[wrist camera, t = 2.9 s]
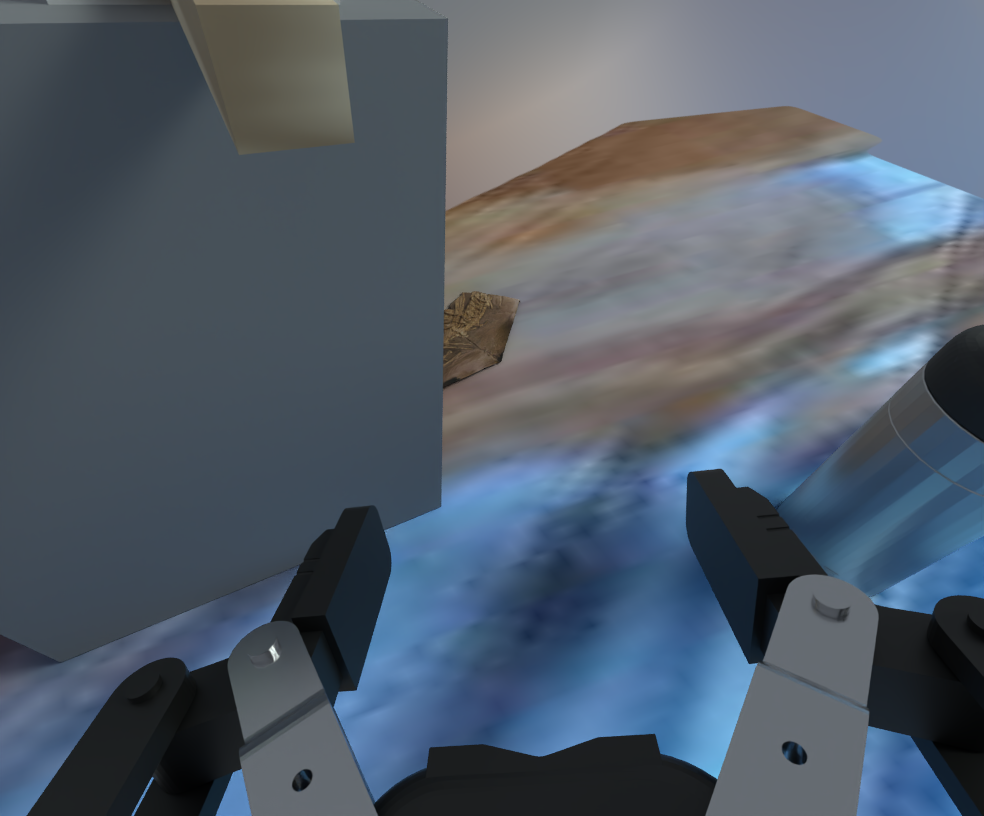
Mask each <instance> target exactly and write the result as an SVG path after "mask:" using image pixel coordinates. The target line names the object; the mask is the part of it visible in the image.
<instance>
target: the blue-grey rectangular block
mask: <svg viewBox="0 0 984 816" xmlns="http://www.w3.org/2000/svg"><path fill="white" fill-rule="evenodd" d="M339 14H340V22H341V31H342V39H343V48H344V56H345V65H346V73H347V82H348V90H349V99H350V107H351V115H352V124H353V132H354V141H355V143H348V144H338V145H329V146H319V147H310V148H300V149H291V150H281V151H272V152H262V153H253V154H243V155H239V154H238V151H237V149H236V147H235V145H234V142H233V140H232V138H231V136H230V134H229V131H228V129H227V127H226V125H225V122H224V120H223V118H222V116H221V113H220V111H219V109H218V107H217V104H216V102H215V100H214V98H213V96H212V93H211V91H210V89H209V87H208V84H207V82H206V80H205V78H204V75H203V73H202V71H201V69H200V67H199V64H198V62H197V60H196V58H195V55H194V53H193V51H192V49H191V46H190V44H189V42H188V40H187V37H186V35H185V33H184V31H183V29H182V26H181V24H180V22H179V20H178V17H177V15H176V13H175V11H174V8H173V6H172V5H48V3H47V1H46V0H0V635H2V636H5V637H7V638H9V639H11V640H13V641H15V642H18V643H20V644H22V645H24V646H26V647H28V648H31V649H33V650H35V651H37V652H39V653H41V654H43V655H46V656H48V657H50V658H52V659H54V660H56V661H59V662H64V661H66V660H68V659H71V658H73V657H76V656H78V655H81V654H83V653H86V652H88V651H90V650H93V649H95V648H98V647H100V646H103V645H105V644H107V643H110V642H112V641H115V640H117V639H120V638H122V637H125V636H127V635H129V634H132V633H134V632H137V631H139V630H142V629H144V628H146V627H149V626H151V625H154V624H156V623H159V622H161V621H164V620H166V619H168V618H171V617H173V616H176V615H178V614H181V613H183V612H186V611H188V610H190V609H193V608H195V607H198V606H200V605H203V604H205V603H207V602H210V601H212V600H215V599H217V598H220V597H222V596H225V595H227V594H229V593H232V592H234V591H237V590H239V589H242V588H244V587H246V586H249V585H251V584H254V583H256V582H259V581H261V580H264V579H266V578H268V577H271V576H273V575H276V574H278V573H281V572H283V571H285V570H288V569H290V568H293V567H295V566H298V565H300V564H301V563H303V562H304V560H303V559H304V557H305V555H306V554H307V552H308V550H309V548H310V546H311V544H312V543H313V542H314V541H315V540H316V539H317V538H318V537H319V536H320V535H321V534H322V533H323V532H324V531H325V530H326V529H334V528H335V526H336V524H337V522H338V520H339V518H340V516H341V514H342V512H343V510H344V509H345V508H352V507H361V506H370V505H374V506H375V507H376V508H377V510H378V513H379V516H380V519H381V522H382V526H383V529H384V530H385V529H388V528H390V527H393V526H395V525H398V524H400V523H403V522H405V521H407V520H410V519H412V518H415V517H417V516H420V515H422V514H424V513H427V512H429V511H432V510H434V509H437V508H439V507H441V479H442V408H443V336H444V264H445V189H446V187H445V185H446V119H447V118H446V117H447V48H448V41H447V40H448V18H446V17H444V16H442V15H441V14H439V13H438V12H436V11H434V10H432V9H431V8H429V7H427V6H426V5H424V4H422V3H421V2H419V1H417V0H340V5H339Z"/></svg>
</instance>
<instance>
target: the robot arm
mask: <svg viewBox="0 0 984 816" xmlns="http://www.w3.org/2000/svg"><path fill="white" fill-rule="evenodd" d="M686 528H687V534H688V538H689V541H690V544H691V547H692V549H693V551H694V553H695V555H696V557H697V559H698V561H699V563H700V565H701V567H702V569H703V571H704V573H705V576H706V578H707V580H708V582H709V584H710V586H711V588H712V590H713V592H714V594H715V596H716V598H717V600H718V602H719V604H720V606H721V608H722V610H723V612H724V614H725V616H726V618H727V620H728V622H729V624H730V626H731V628H732V631H733V633H734V635H735V637H736V639H737V641H738V643H739V645H740V647H741V649H742V651H743V653H744V655H745V657H746V659H747V661H748V663H749V664H753V663H758V664H757V666H756V669H755V672H754V674H753V677H752V680H751V683H750V686H749V689H748V692H747V695H746V698H745V701H744V704H743V707H742V710H741V713H740V716H739V718H738V721H737V724H736V727H735V730H734V733H733V736H732V739H731V742H730V745H729V748H728V751H727V754H726V757H725V760H724V762H723V765H722V768H721V771H720V774H719V777H718V780H717V779H716V778H715V777H713V776H711V775H710V774H708V773H707V772H705V771H703V770H702V769H700V768H698V767H696V766H694V765H692V764H690V763H687V762H685V761H682V760H680V759H677V758H674V757H671V756H667V755H663V754H660V751H659V747H658V744H657V740H656V736H655V734H646V735H630V736H613V737H598V738H595V739H592V740H589V741H586V742H583V743H581V744H578V745H575V746H572V747H569V748H566V749H564V750H561V751H558V752H555V753H552V754H549V755H547V756H541V757H538V756H532V755H528V754H523V753H519V752H515V751H510V750H506V749H501V748H497V747H493V746H488V745H484V744H480V745H464V746H447V747H431V748H430V749H429V756H428V763H427V768H425V769H422V770H420V771H418V772H416V773H414V774H412V775H410V776H408V777H406V778H405V779H403V780H402V781H400V782H399V783H397V784H396V785H394V786H393V787H392V788H391V789H389V790H388V791H387V792H386V793H385V794H383V795H382V796H381V797H380V798H379V799H378V800H377V801H376V802H375V800H374V798H373V796H372V794H371V792H370V789H369V787H368V785H367V782H366V780H365V778H364V776H363V773H362V771H361V769H360V766H359V764H358V762H357V760H356V757H355V755H354V753H353V750H352V748H351V746H350V744H349V741H348V739H347V737H346V734H345V732H344V730H343V728H342V725H341V723H340V721H339V718H338V716H337V714H336V711H335V709H334V703H335V700H336V697H337V694H338V692H341V691H354V690H357V687H358V683H359V680H360V676H361V673H362V669H363V666H364V663H365V659H366V656H367V652H368V649H369V645H370V642H371V639H372V635H373V632H374V628H375V625H376V621H377V618H378V615H379V611H380V608H381V604H382V601H383V597H384V594H385V591H386V587H387V584H388V580H389V577H390V573H391V553H390V548H389V545H388V542H387V539H386V535H385V532H384V529H383V526H382V522H381V519H380V516H379V513H378V510H377V508H376V507H375V506H374V505H370V506H361V507H352V508H345V509H344V510H343V512H342V514H341V516H340V518H339V520H338V522H337V524H336V526H335V528H334V529H326V530H325V531H324V532H323V533H322V534H321V535H320V536H319V537H318V538H317V539H316V540H315V541H314V542H313V543H312V544H311V546H310V548H309V550H308V552H307V554H306V555H305V557H304V559H303V560H304V562H303V563H301V565H300V567H299V569H298V571H297V576H294V578H293V580H292V582H291V584H290V586H289V588H288V590H287V591H286V593H285V595H284V597H283V599H282V601H281V603H280V605H279V607H278V609H277V610H276V612H275V614H274V616H273V618H272V620H271V622H270V623H267V624H264V625H262V626H260V627H258V628H256V629H255V630H253V631H251V632H250V633H249V634H247V635H246V636H245V637H244V638H243V639H242V640H241V641H240V642H239V643H238V644H237V645H236V647H235V648H234V649H233V651H232V653H231V655H230V657H229V658H227V659H225V660H222V661H219V662H216V663H214V664H211V665H208V666H205V667H202V668H200V669H197V670H194V671H191V672H189V670H188V669H187V667H186V666H185V664H184V662H183V661H181V660H180V659H177V658H164V659H160V660H157V661H154V662H152V663H149V664H147V665H145V666H144V667H142V668H140V669H139V670H137V671H136V672H134V673H133V674H132V675H130V676H129V677H128V678H127V679H125V680H124V681H123V682H122V683H121V684H120V685H119V686H118V687H117V689H116V690H115V691H114V692H113V694H112V695H111V696H110V698H109V699H108V701H107V702H106V703H105V705H104V706H103V708H102V709H101V711H100V712H99V713H98V715H97V716H96V718H95V719H94V721H93V722H92V723H91V725H90V726H89V728H88V729H87V731H86V732H85V733H84V735H83V736H82V738H81V739H80V741H79V742H78V743H77V745H76V746H75V748H74V749H73V750H72V752H71V753H70V755H69V756H68V758H67V759H66V760H65V762H64V763H63V765H62V766H61V768H60V769H59V770H58V772H57V773H56V775H55V776H54V778H53V779H52V780H51V782H50V783H49V785H48V786H47V787H46V789H45V790H44V792H43V793H42V795H41V796H40V797H39V799H38V800H37V802H36V803H35V805H34V806H33V807H32V809H31V810H30V812H29V813H28V815H27V816H131V815H132V813H133V811H134V809H135V807H136V805H137V804H138V802H139V800H140V798H141V796H142V794H143V792H144V791H145V789H146V787H147V785H148V783H149V781H150V779H151V778H152V777H153V778H154V779H153V781H152V783H151V785H150V787H149V789H148V790H147V792H146V794H145V796H144V798H143V800H142V802H141V804H140V805H139V807H138V809H137V811H136V813H135V815H134V816H215V815H216V813H217V810H218V808H219V806H220V803H221V801H222V798H223V796H224V793H225V791H226V788H227V786H228V783H229V781H230V779H231V776H232V774H233V772H235V771H237V770H240V769H242V772H243V777H244V781H245V786H246V791H247V795H248V800H249V805H250V809H251V814H252V816H856V814H857V806H858V798H859V791H860V783H861V775H862V768H863V760H864V752H865V745H866V737H867V729H868V726H871V727H875V728H880V729H884V730H888V731H892V732H897V733H901V734H905V735H909V736H911V738H912V739H913V741H914V742H915V744H916V745H917V747H918V748H919V750H920V751H921V753H922V755H923V756H924V758H925V759H926V761H927V762H928V764H929V765H930V767H931V768H932V770H933V771H934V773H935V775H936V776H937V778H938V779H939V781H940V782H941V784H942V785H943V787H944V788H945V790H946V791H947V793H948V795H949V796H950V798H951V799H952V801H953V802H954V804H955V805H956V807H957V808H958V810H959V811H960V813H961V815H962V816H984V599H982V598H978V597H972V596H959V595H958V596H950V597H946V598H943V599H941V600H940V601H939V602H938V603H937V604H936V606H935V608H934V611H933V614H932V615H931V614H925V613H919V612H912V611H906V610H900V609H893V608H888V607H883V606H879V605H875V604H874V603H873V602H872V601H871V599H870V598H869V597H870V596H873V595H876V594H878V593H880V592H882V591H884V590H886V589H888V588H889V587H891V586H893V585H895V584H897V583H898V582H900V581H902V580H904V579H906V578H908V577H909V576H911V575H913V574H915V573H917V572H919V571H921V570H923V569H924V568H926V567H928V566H930V565H932V564H933V563H935V562H937V561H939V560H941V559H942V558H944V557H946V556H948V555H950V554H952V553H953V552H955V551H957V550H959V549H961V548H962V547H964V546H966V545H968V544H970V543H971V542H973V541H975V540H977V539H979V538H980V537H982V536H984V325H979V326H975V327H972V328H969V329H967V330H965V331H963V332H961V333H960V334H958V335H956V336H955V337H954V338H953V339H951V340H950V341H949V342H948V343H947V344H946V345H945V346H943V347H942V348H941V349H940V350H939V351H938V352H937V353H936V354H935V355H934V356H933V357H932V358H931V359H930V360H929V361H928V362H927V363H926V364H925V365H924V366H923V367H922V368H921V369H920V370H919V371H918V372H917V373H916V374H915V375H914V376H913V377H912V378H911V379H909V380H908V381H907V382H906V383H905V384H904V385H903V386H902V387H901V388H900V389H899V390H898V391H897V392H896V393H895V394H894V395H893V396H892V397H891V398H890V399H889V400H888V401H887V402H886V403H885V404H884V405H883V406H882V407H881V408H880V409H879V410H878V411H877V412H876V413H875V414H874V415H873V416H872V417H871V418H870V419H868V420H867V421H866V422H865V423H864V424H863V425H862V426H861V427H860V428H859V429H858V430H857V431H856V432H855V433H854V434H853V435H852V436H851V437H850V438H849V439H848V440H847V441H846V442H845V443H844V444H843V445H842V446H841V447H840V448H838V449H837V450H836V451H835V452H834V453H833V454H832V455H831V456H830V457H829V458H828V459H827V460H826V461H825V462H824V463H823V464H822V465H821V466H820V467H819V468H818V469H817V470H816V471H815V472H814V473H813V474H812V475H811V476H809V477H808V478H807V479H806V480H805V481H804V482H803V483H802V484H801V485H800V486H799V487H798V488H797V489H796V490H795V491H794V492H793V493H792V494H791V495H790V496H789V497H788V498H787V499H786V500H785V501H784V502H783V503H782V504H781V505H780V506H779V507H778V510H776V509H775V508H774V507H773V505H772V504H771V503H770V502H769V500H768V499H767V498H765V497H763V496H762V495H760V494H759V493H757V492H756V491H754V490H752V489H751V488H749V487H741V488H736V487H735V486H734V484H733V483H732V481H731V480H730V479H729V477H728V476H727V475H726V473H725V472H724V471H723V470H722V469H714V470H704V471H695V472H689V474H688V477H687V503H686Z"/></svg>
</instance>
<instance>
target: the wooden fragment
mask: <svg viewBox="0 0 984 816" xmlns="http://www.w3.org/2000/svg"><path fill="white" fill-rule="evenodd" d="M519 302H520V300H518V299H513V298H509V297H505V296H498V295H490V294H485V293H481V292H479V291H478V292H476V291H474V292H472V293H463V292H462V293H461V296H460V297H458V298H457V299H456V300H455V301H453V302H452V303H451V305H450V309H447V310H444V336H443V387H445V386H447V385H449V384H452V383H454V382H456V381H458V380H461V379H462V378H465V377H467V376H470V375H472V374H474V373H476V372H478V371H479V370H482V369H484V368H486V367H489V366H491V365H493V364H495V363H500V362H501V361H502V356H503V352H504V349H505V346H506V343H507V340H508V336H509V333H510V330H511V327H512V324H513V320H514V317H515V314H516V311H517V307H518V304H519ZM497 361H498V362H497Z"/></svg>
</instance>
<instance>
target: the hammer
mask: <svg viewBox="0 0 984 816" xmlns="http://www.w3.org/2000/svg"><path fill="white" fill-rule="evenodd" d="M46 1H47V3H48V5H172V6H173V8H174V11H175V13H176V15H177V17H178V20H179V22H180V24H181V26H182V29H183V31H184V33H185V35H186V37H187V40H188V42H189V44H190V46H191V49H192V51H193V53H194V55H195V58H196V60H197V62H198V64H199V67H200V69H201V71H202V73H203V75H204V78H205V80H206V82H207V84H208V87H209V89H210V91H211V93H212V96H213V98H214V100H215V102H216V104H217V107H218V109H219V111H220V113H221V116H222V118H223V120H224V122H225V125H226V127H227V129H228V131H229V134H230V136H231V138H232V140H233V142H234V145H235V147H236V149H237V151H238V154H239V155H243V154H253V153H262V152H272V151H281V150H291V149H300V148H310V147H319V146H329V145H338V144H348V143H355V141H354V132H353V124H352V115H351V107H350V99H349V90H348V82H347V73H346V65H345V56H344V48H343V39H342V31H341V22H340V14H339V5H340V0H46Z"/></svg>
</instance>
